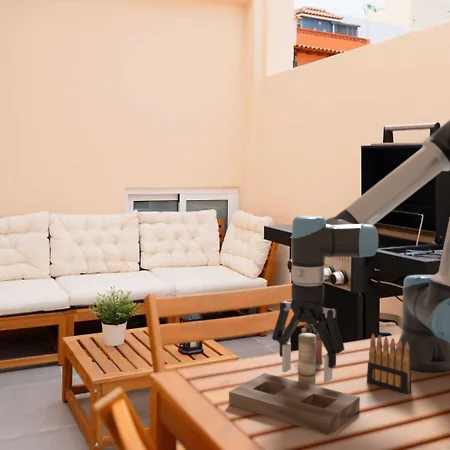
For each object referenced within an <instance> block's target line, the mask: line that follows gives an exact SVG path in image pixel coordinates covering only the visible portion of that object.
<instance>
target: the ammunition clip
mask: <svg viewBox="0 0 450 450" xmlns="http://www.w3.org/2000/svg"><path fill="white" fill-rule="evenodd" d="M381 336H382V335H380V334H379V335H378V336H377V341H376V336H375V334H374V333H372V334H371V338H370V344H369V345H370V346H369V352H368V362H367V371H366V372H367V373H366V383H367V384H370V385H373V386H376V387H379V388H384V389H386V390H390V391H393V392H395V393H399V394H403V395H406V396H407V395H409V394H412V371H411V369H410V354H409V344H408V342H406V344H405V348H404V357H403V355H402V343H401V340H399V339H398V341H399V342H397V344H398V346H397V345H396V341H395V338H391V341H390V343H389V339H388V336H385V337H384V340H383V341H382V337H381ZM389 344H390V346H389ZM396 347H397V355H396V354H395V349H396Z"/></svg>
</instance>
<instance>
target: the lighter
mask: <svg viewBox="0 0 450 450" xmlns="http://www.w3.org/2000/svg"><path fill="white" fill-rule="evenodd" d="M304 323H305V327H302V328H301V334H302V333H311V334H314V335H316V365H321V364H323V357H322V356H323V352H322V351H323V342H322V340H321V338H320V336H319V334H318V332H317V330H316V328H314V327H313V325H312V324H308V323H306V322H304Z"/></svg>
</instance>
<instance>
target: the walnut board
mask: <svg viewBox="0 0 450 450" xmlns="http://www.w3.org/2000/svg"><path fill="white" fill-rule="evenodd" d="M360 401H361V399H360V396H358V395H353V394H349V393H345V392H341V391H338V390H334V389H330V388H326V387H323V386H318V385H315V386H314V385H310V384H306V383H302V382H298V380H295V379H290V378H285V377H282V376H278V375H273V374H270V373H265V372H263V373H262V374H259V376H256V377H254V378H252V379H250V380H249V381H247V382H245V383H243V384H241V385H239V386H237V387H235V388H233V389H231V390H229V391H228V406H231V407H233V408H234V407H235V408H237V409H241V410H245V411H247V412H251V413H255V414H258V415H260V416H261V415H262V416H264V417H268V418H271V419H275V420H278V421H281V422H285V423H288V424H292V425H295V426H298V427H302V428H305V429H309V430H311V431H313V432H318V433H321V434H325V435H328V436H330V435H331V434H332V433H333V432H335V431H336V430H337V429H339V427H341V426H342V425H343V424H344V423H346V422H348V421H349V419H351V418H353V416H355V415H356V414H357V413H358V412H360V403H361V402H360Z"/></svg>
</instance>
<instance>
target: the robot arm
mask: <svg viewBox="0 0 450 450" xmlns="http://www.w3.org/2000/svg"><path fill="white" fill-rule="evenodd" d="M442 171H443V172H449V171H450V119H449V120H448V121H446V123H444V124H442V126H440V127H439V128H438V129H437V130H436V131H434V133H432V134H431V135H429V136H428V137H427V138H426V139H425V140H423V141H422V146H421V148H420V149H419V150H418V151H416V152H415V153H414V154H412V155H411V156H410V157H409V158H407V159H406V160H405V161H403V162H402V163H401V164H400V165H399V166H397V167H396V168H395V169H394V170H392V171H391V172H389V173H388V174H387V175H386V176H384V178H382V179H380V180H379V181H378V182H377V183H376V184H374V185H373V186H372V187H370V188H369V189H368V190H367V191H365V193H363V194H362V195H361V196H359V197H358V198H357V199H355V200H354V201H353V202H352V203H350V204H349V205H348V206H347V207H346V208H345V209H343V210H342V211H340V212H339V213H338V214H336V215H335V216H331V217H328V218H326V219H325V217H324V216H323V215H322V216H320V215H298V216H296V217H294V219H293V220H292V227H291V282H293V283H292V284H291V292H290V293H291V294H290V295H291V299H292V300H291V302H290V301H289V300H284V301H282V302H280V303H279V313H278V317H277V319H276V322H275V326H274V330H273V333H272V336H271V339H272V340H273V342H274V341H276V342H277V343H278V344H279V356H280V358H281V359H282V362H281V365H282V367H281V372H282V373H287V372H289V371H290V370H291V368H292V365H291V364H292V343H291V342H289V341H290V338H291V337H292V335H293V334H294V332H295V330H296V329H297V327H298V325H299V324H300V323H305V322H306V323H308V324H312V325H313V327H314V328H316V330H317V332H318V334H319V336H320V338H321V340H322V345H323V346H324V348H325V350H326V353H324V354H323V358H324V359H323V363H324V364H323V366H324V367H323V369H324V370H323V383H329V382H330V381H331V380H332V381H333V369H334V368H335V367H336V365H337V355H338V354H340V353H342V352H343V351H345V346H344V342H343V338H342V335H341V331H340V327H339V323H338V319H337V316H338V315H337V312H338V309H337V308H335V307H333V308H327V307H325V304H324V301H325V285H324V282H325V265H326V263H325V261H326V259H325V258H364V257H366V258H367V257H372V256H373V257H374V256H375V255H376V253H377V251H378V249H379V233H378V230H377V227H376V226H375V224H377V222H379V221H380V220H381V219H383V218H384V217H385V216H387V215H388V214H389V213H390V212H392V211H393V210H394V209H396V207H398V206H399V205H400V204H401V203H403V202H404V201H406V200H407V199H408V198H409V197H411V196H412V195H413V194H414V193H416V192H417V191H418V190H419V189H421V188H422V187H423V186H425V185H426V184H427V183H428V182H430V181H431V180H433V179H434V178H435V177H436V176H437V175H439V174H440V173H441V172H442ZM446 230H447V231H446V233H445V239H444V244H443V249H442V252H441V253H442V255H441V259H440V263H439V264H440V265H439V269H438V272H437V273H435V274H413V275H412V274H410V275H407V276H406V277H405V278H404V280H403V287H402V318H401V319H402V324H401V328H402V330H401V334H400V336H399V338H398V342H399V340H401V343H402V355H403V357H404V348H405V344H406V342H408V344H409V354H410V370H414V371H419V372H427V373H429V372H430V373H431V372H432V373H439V372H440V373H441V372H447V371H450V218H449V220H448V225H447V228H446ZM290 311H292V313H293V315H292V317H291V319H290V322H289V323H288V325H287V326H286V324H287V321H288V317H289V313H290ZM323 315H325V316H324V317H323ZM324 318H325V319H326V322H325V320H324ZM326 323H327V326H328V328H327V326H326ZM285 326H286V327H285ZM398 342H397V343H396V346H395V354H396V355H397V346H398Z"/></svg>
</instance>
